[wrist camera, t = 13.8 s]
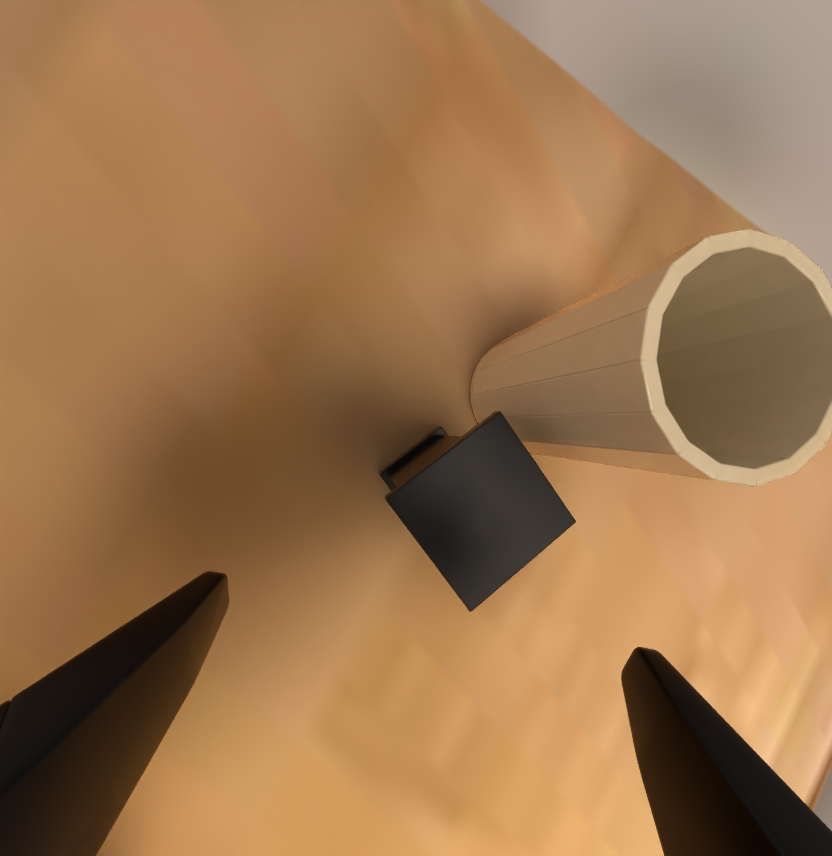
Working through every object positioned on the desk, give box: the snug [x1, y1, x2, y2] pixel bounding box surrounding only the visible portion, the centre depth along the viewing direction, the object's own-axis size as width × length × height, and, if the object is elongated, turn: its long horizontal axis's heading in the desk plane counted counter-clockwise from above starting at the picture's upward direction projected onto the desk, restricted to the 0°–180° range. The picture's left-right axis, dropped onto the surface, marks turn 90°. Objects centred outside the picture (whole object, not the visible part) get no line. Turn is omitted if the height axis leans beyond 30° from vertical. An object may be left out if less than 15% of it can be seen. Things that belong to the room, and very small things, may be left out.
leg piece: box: [378, 411, 576, 612], centre depth 17 cm, size 5×5×8 cm
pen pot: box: [470, 229, 832, 487], centre depth 16 cm, size 6×6×12 cm
